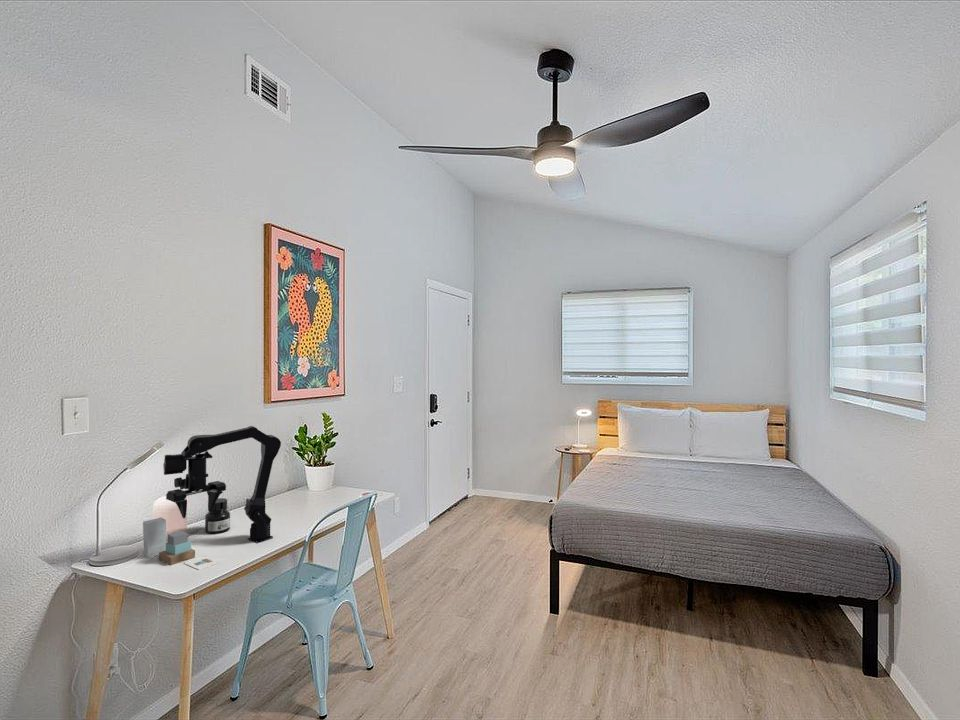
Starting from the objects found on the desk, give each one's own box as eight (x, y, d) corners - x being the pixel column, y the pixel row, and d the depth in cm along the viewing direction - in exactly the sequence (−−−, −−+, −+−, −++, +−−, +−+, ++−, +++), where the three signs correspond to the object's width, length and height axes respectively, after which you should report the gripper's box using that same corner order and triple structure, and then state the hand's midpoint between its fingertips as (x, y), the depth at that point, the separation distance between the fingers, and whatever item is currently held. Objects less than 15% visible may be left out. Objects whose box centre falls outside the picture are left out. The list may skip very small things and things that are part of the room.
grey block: (181, 539, 183) (181, 530, 183) (187, 542, 180) (187, 533, 180) (167, 542, 179) (167, 534, 179) (173, 546, 177) (173, 537, 177)
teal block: (181, 546, 184) (181, 538, 184) (190, 549, 181) (191, 541, 181) (165, 551, 179) (165, 543, 179) (175, 554, 177) (175, 546, 177)
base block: (182, 553, 185) (182, 545, 185) (195, 558, 181) (195, 550, 181) (158, 561, 179) (158, 552, 179) (171, 566, 174) (171, 557, 174)
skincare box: (161, 550, 187) (161, 517, 187) (166, 553, 184) (166, 519, 184) (142, 555, 182) (142, 521, 182) (147, 558, 180) (147, 523, 179)
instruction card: (204, 556, 182) (204, 555, 182) (219, 562, 177) (219, 561, 177) (184, 563, 176) (184, 562, 176) (198, 569, 171) (198, 569, 171)
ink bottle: (208, 536, 201) (208, 505, 201) (200, 530, 207) (200, 500, 207) (234, 530, 208) (234, 500, 208) (226, 525, 214) (226, 496, 214)
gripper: (210, 463, 199) (209, 504, 199) (158, 473, 183) (158, 517, 183) (227, 467, 193) (226, 509, 193) (174, 477, 177) (174, 523, 177)
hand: (197, 514), depth 187 cm, fingers open, 9 cm apart
